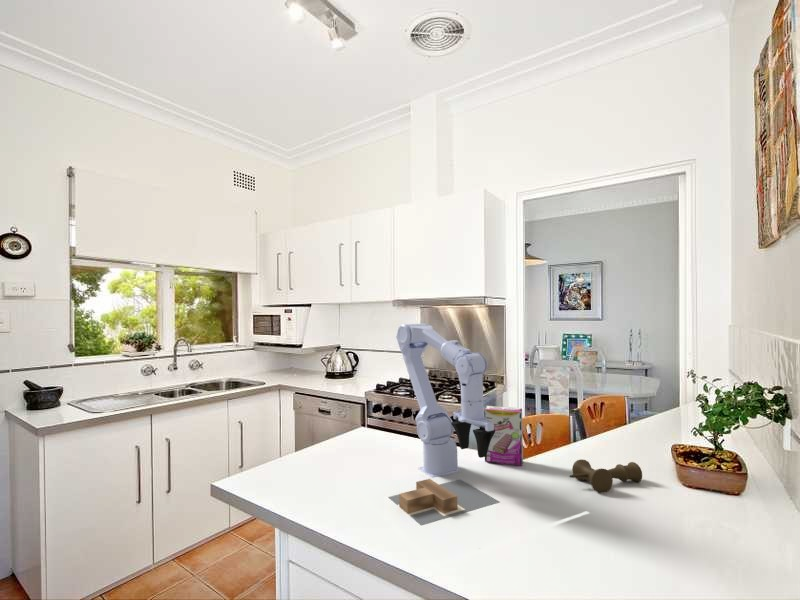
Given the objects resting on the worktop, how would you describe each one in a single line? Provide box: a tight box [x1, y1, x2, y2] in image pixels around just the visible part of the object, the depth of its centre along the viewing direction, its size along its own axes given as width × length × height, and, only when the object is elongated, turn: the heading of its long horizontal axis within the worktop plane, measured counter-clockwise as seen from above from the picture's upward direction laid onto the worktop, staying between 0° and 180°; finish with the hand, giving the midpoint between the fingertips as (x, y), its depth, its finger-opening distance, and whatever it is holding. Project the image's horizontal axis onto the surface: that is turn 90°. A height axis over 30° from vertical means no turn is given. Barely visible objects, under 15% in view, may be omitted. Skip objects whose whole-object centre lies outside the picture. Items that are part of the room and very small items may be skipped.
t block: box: [398, 478, 458, 515], centre depth 100 cm, size 11×12×3 cm
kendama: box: [568, 459, 643, 494], centre depth 111 cm, size 6×10×20 cm
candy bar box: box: [483, 405, 524, 467], centre depth 129 cm, size 11×5×16 cm, turn 71°
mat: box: [388, 479, 500, 526], centre depth 102 cm, size 22×16×1 cm
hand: (473, 452), depth 110 cm, fingers open, 7 cm apart
